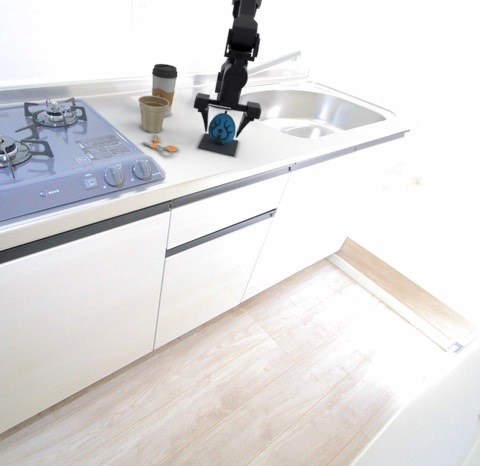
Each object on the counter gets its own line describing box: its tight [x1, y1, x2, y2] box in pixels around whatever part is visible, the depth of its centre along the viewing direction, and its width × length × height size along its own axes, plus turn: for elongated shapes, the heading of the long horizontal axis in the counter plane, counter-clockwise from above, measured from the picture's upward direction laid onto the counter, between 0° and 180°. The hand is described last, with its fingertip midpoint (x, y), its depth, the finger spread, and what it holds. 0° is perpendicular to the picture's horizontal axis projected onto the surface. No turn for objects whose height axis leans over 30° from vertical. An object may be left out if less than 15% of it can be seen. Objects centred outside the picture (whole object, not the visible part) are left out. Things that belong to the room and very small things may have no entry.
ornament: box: [207, 110, 237, 144], centre depth 97 cm, size 8×5×10 cm, turn 66°
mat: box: [197, 132, 239, 157], centre depth 100 cm, size 11×11×1 cm
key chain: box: [142, 134, 178, 157], centre depth 95 cm, size 13×7×1 cm, turn 39°
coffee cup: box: [151, 63, 178, 118], centre depth 110 cm, size 8×8×15 cm
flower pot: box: [137, 95, 169, 133], centre depth 101 cm, size 9×9×9 cm
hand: (221, 134), depth 98 cm, fingers open, 9 cm apart
